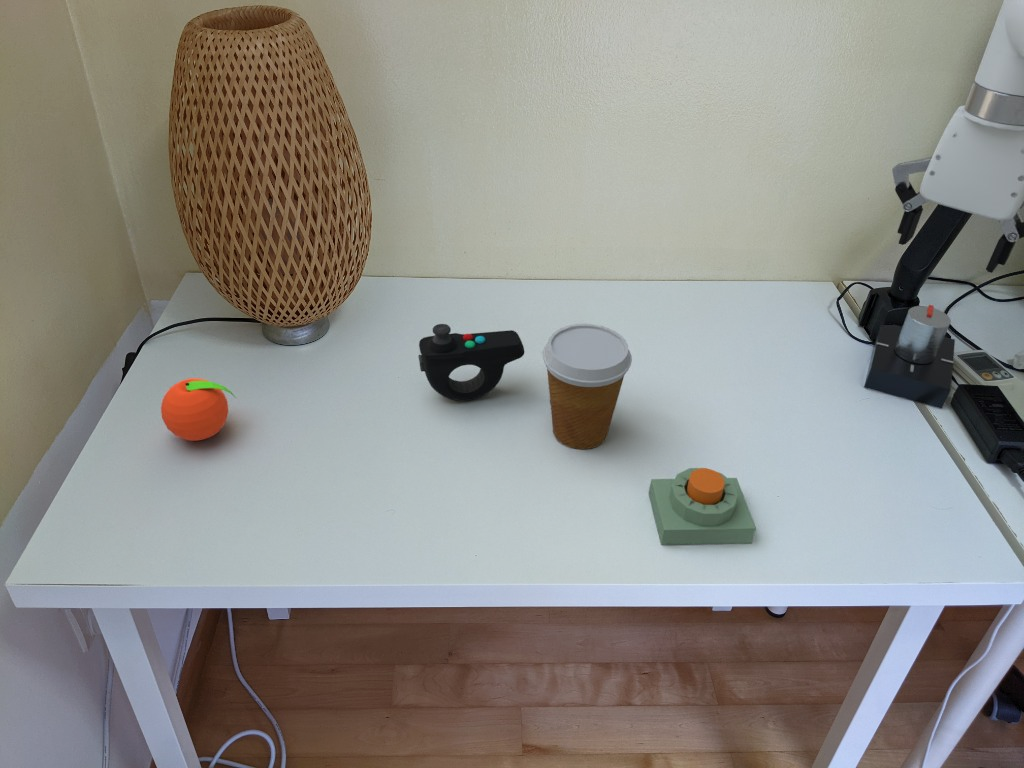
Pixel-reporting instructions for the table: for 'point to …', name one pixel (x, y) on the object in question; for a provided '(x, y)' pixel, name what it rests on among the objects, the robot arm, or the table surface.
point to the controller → (467, 360)
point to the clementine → (195, 409)
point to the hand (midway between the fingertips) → (947, 253)
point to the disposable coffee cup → (584, 381)
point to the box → (699, 513)
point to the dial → (922, 334)
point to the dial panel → (909, 371)
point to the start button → (705, 486)
